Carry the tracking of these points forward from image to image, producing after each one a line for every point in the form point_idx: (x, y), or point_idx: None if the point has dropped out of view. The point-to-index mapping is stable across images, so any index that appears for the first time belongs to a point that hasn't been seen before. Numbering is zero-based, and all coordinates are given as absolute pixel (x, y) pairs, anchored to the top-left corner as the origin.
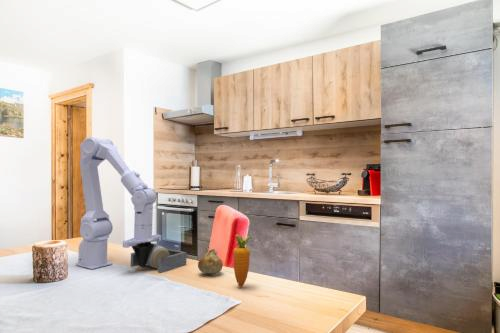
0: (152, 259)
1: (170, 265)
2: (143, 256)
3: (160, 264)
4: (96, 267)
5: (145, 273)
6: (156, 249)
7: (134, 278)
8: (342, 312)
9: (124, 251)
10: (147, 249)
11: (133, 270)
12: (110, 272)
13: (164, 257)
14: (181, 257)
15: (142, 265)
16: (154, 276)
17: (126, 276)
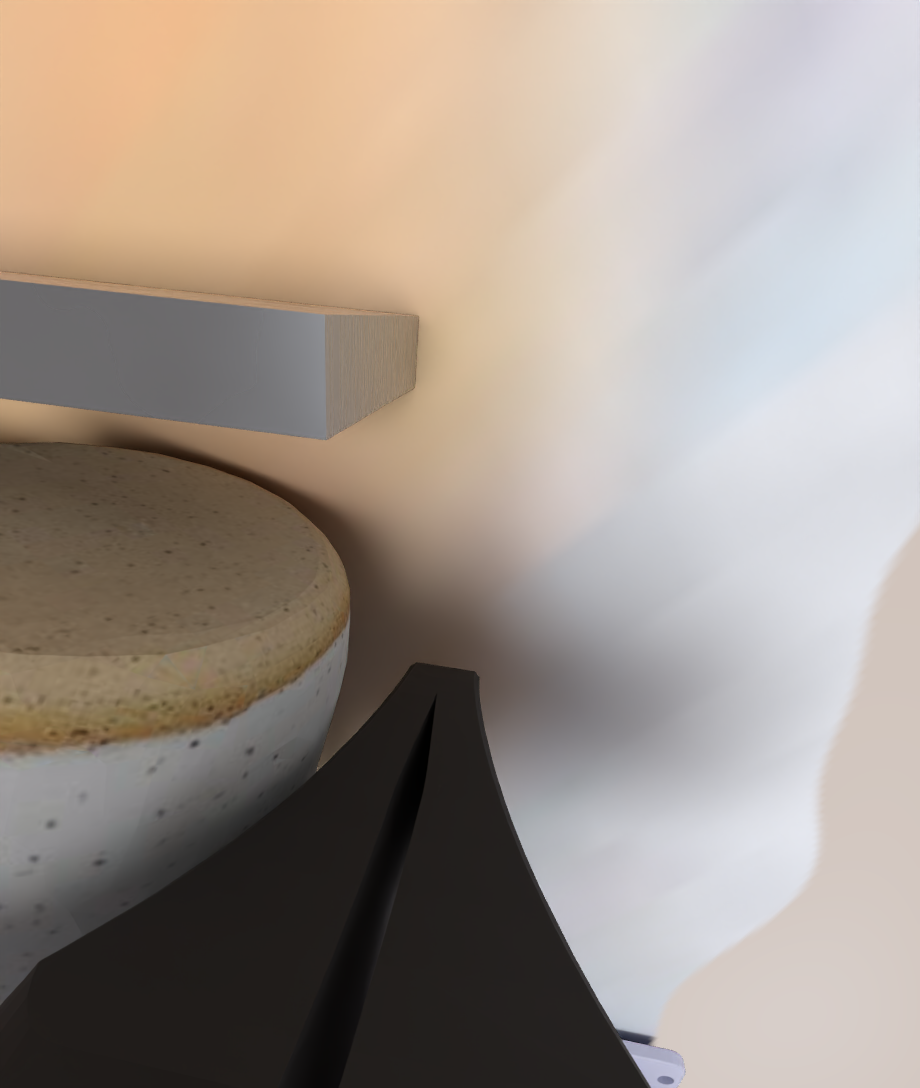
0: (329, 629)
1: (116, 285)
2: (489, 812)
3: (372, 325)
4: (636, 1049)
5: (557, 528)
6: (24, 792)
7: (876, 501)
8: None
9: None
10: (336, 966)
11: (511, 745)
12: (698, 894)
13: (106, 371)
14: None
15: (478, 691)
16: (649, 258)
17: (802, 665)
